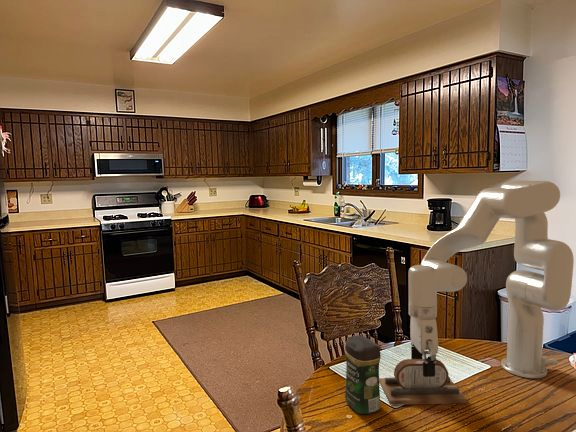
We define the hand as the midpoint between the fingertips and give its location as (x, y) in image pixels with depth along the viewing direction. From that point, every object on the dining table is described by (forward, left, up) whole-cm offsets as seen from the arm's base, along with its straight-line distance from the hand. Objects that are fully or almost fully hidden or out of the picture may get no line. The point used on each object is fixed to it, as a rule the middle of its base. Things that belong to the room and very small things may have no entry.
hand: (422, 367), depth 114 cm
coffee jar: (+19, +6, -8) cm, 21 cm away
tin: (0, 0, -6) cm, 6 cm away
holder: (+1, 0, -7) cm, 7 cm away
